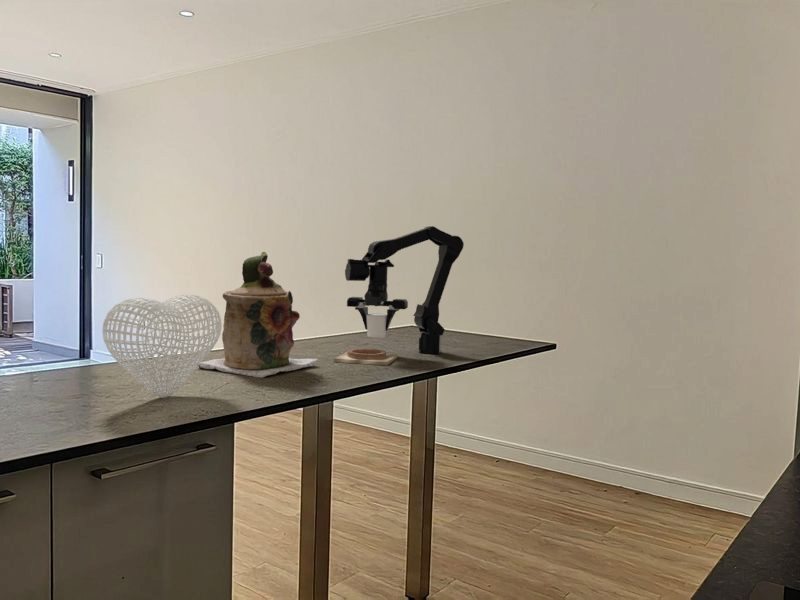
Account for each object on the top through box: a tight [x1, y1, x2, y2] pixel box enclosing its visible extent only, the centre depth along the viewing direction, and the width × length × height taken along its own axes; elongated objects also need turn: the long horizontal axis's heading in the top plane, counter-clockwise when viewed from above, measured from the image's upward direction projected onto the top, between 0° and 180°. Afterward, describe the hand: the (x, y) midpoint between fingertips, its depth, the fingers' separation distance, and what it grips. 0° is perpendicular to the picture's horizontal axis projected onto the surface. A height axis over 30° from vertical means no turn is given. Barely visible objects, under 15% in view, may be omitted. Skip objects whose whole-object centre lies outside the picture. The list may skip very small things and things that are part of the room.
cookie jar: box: [197, 251, 319, 379], centre depth 196 cm, size 25×25×32 cm
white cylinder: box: [366, 313, 387, 339], centre depth 227 cm, size 7×7×7 cm
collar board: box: [333, 348, 398, 366], centre depth 216 cm, size 16×15×2 cm
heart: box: [102, 294, 222, 399], centre depth 155 cm, size 28×16×22 cm, turn 153°
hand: (376, 330), depth 227 cm, fingers closed on white cylinder, 6 cm apart
